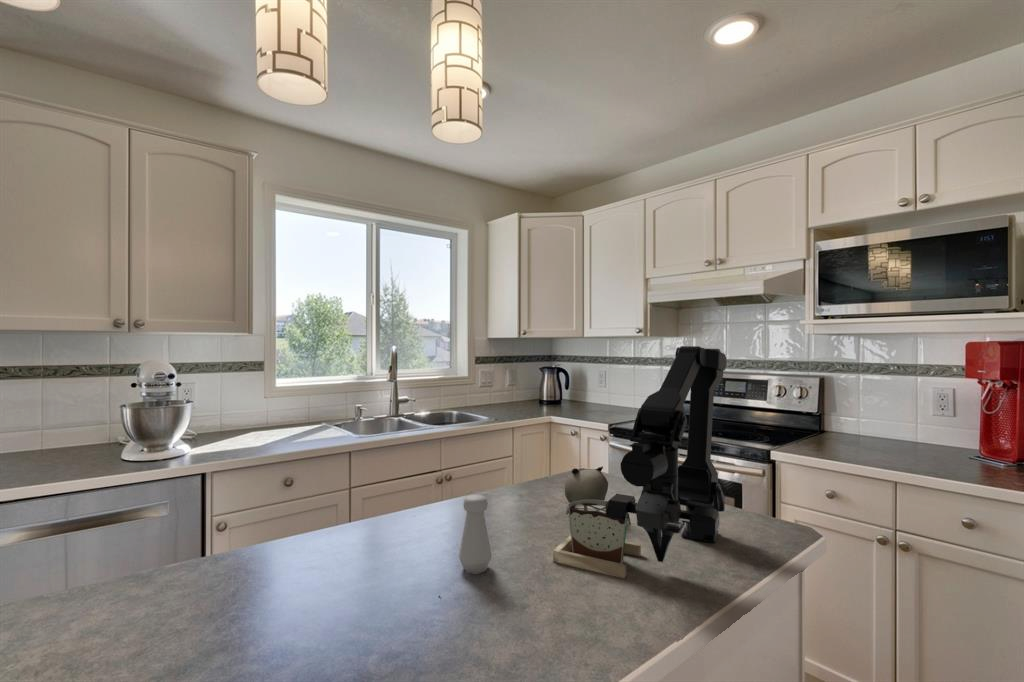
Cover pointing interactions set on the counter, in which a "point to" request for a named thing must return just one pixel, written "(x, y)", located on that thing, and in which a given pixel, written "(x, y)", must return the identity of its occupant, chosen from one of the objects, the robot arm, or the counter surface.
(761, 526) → the counter surface
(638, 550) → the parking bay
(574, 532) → the food container
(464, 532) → the salt shaker
